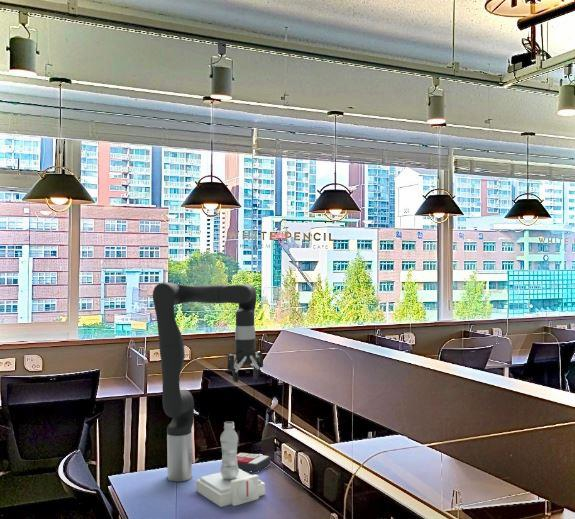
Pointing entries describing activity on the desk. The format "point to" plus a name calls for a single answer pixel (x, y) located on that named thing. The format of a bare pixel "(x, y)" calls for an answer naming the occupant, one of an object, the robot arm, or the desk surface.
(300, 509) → the desk surface
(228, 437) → the silver metal bottle
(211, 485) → the plate
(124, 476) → the desk surface
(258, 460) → the calculator
